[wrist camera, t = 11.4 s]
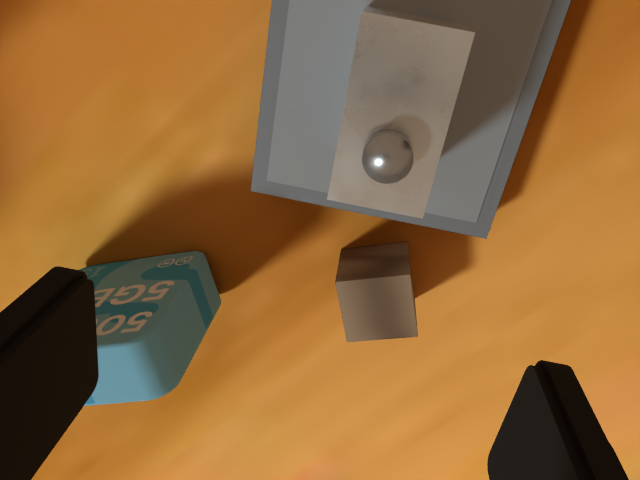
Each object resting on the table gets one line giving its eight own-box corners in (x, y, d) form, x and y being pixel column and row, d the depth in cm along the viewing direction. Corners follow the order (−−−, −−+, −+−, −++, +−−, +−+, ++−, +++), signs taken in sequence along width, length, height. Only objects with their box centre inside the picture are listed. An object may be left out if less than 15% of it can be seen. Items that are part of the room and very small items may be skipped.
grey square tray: (260, 176, 37) (250, 191, 34) (291, -80, 30) (281, -87, 27) (479, 220, 37) (486, 239, 34) (564, -30, 29) (582, -31, 27)
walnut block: (351, 303, 41) (347, 342, 37) (341, 248, 39) (335, 282, 35) (414, 298, 40) (417, 336, 36) (407, 241, 38) (410, 274, 34)
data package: (210, 247, 40) (146, 340, 30) (226, 295, 42) (172, 400, 32) (76, 266, 43) (-28, 360, 32) (97, 312, 45) (6, 414, 34)
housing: (367, 5, 29) (360, 12, 22) (456, 22, 28) (478, 34, 21) (338, 158, 33) (324, 207, 26) (416, 174, 33) (423, 226, 25)
